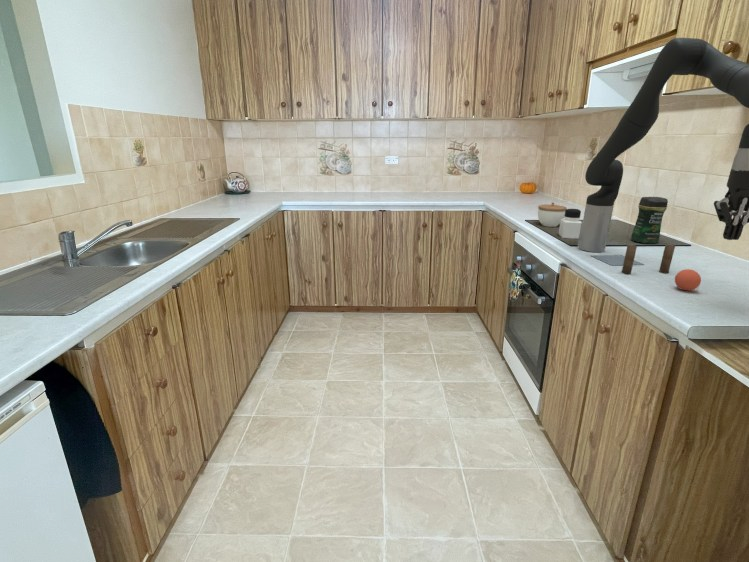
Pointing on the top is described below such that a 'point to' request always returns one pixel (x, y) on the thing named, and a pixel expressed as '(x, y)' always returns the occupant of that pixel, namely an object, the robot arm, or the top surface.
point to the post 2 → (667, 258)
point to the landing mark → (614, 259)
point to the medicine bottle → (570, 224)
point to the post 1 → (629, 259)
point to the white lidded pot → (551, 214)
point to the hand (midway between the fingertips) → (730, 239)
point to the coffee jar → (649, 219)
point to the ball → (687, 279)
